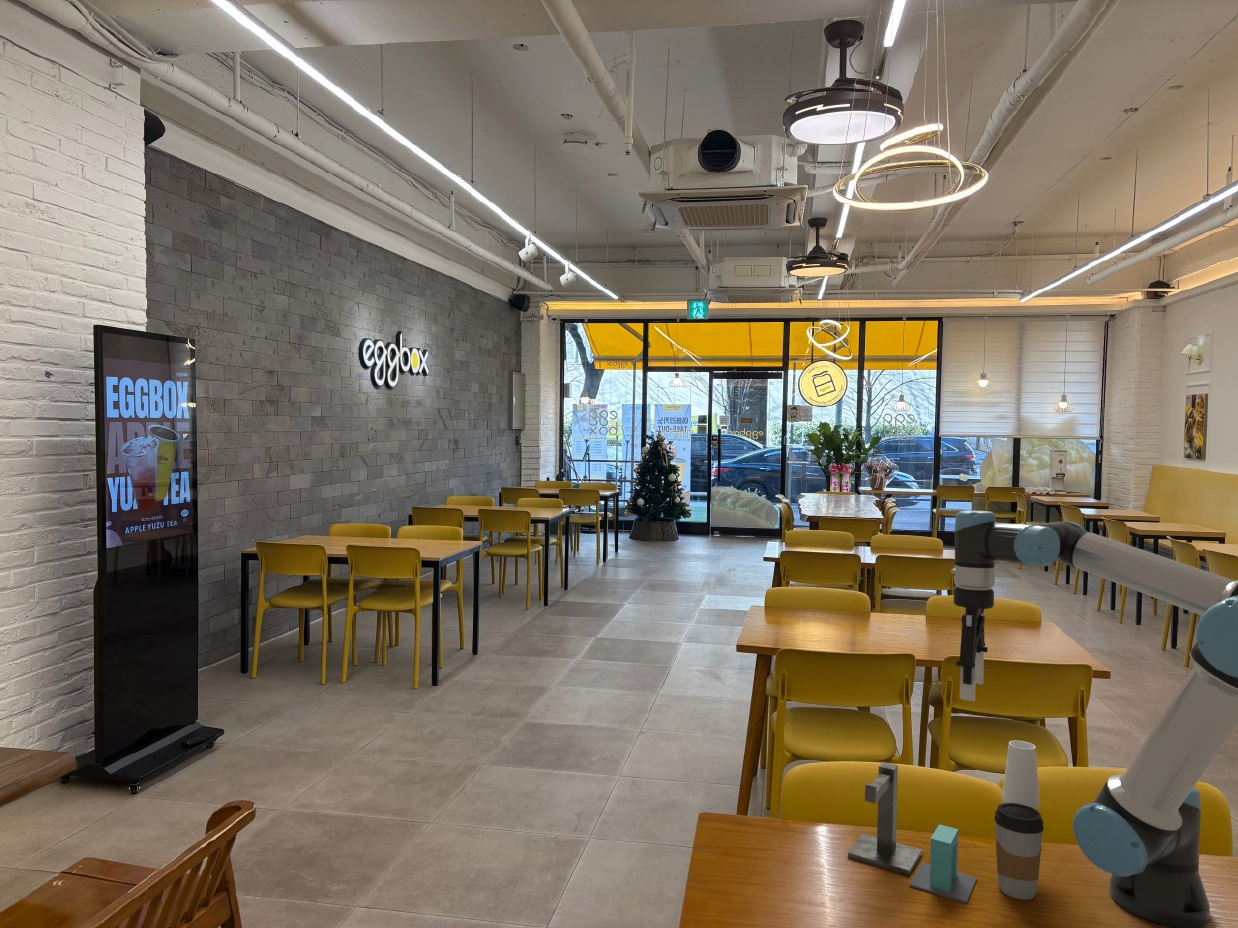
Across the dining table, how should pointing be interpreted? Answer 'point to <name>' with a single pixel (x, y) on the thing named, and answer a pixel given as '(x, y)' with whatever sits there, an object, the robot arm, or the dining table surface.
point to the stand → (885, 827)
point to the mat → (958, 891)
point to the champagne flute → (1021, 775)
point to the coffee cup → (1018, 849)
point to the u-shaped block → (943, 857)
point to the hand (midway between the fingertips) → (971, 691)
